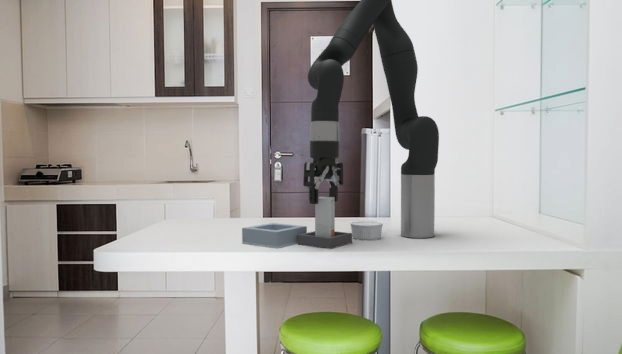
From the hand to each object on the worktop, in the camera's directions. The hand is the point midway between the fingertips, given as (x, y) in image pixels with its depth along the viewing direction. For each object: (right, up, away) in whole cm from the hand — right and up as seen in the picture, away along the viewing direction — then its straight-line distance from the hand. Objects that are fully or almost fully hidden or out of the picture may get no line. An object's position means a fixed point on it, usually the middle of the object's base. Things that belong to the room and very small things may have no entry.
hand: (323, 202), depth 131 cm
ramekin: (+12, -10, +9) cm, 18 cm away
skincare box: (0, -11, +1) cm, 11 cm away
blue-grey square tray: (-13, -11, +3) cm, 17 cm away
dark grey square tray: (0, -11, +1) cm, 11 cm away
